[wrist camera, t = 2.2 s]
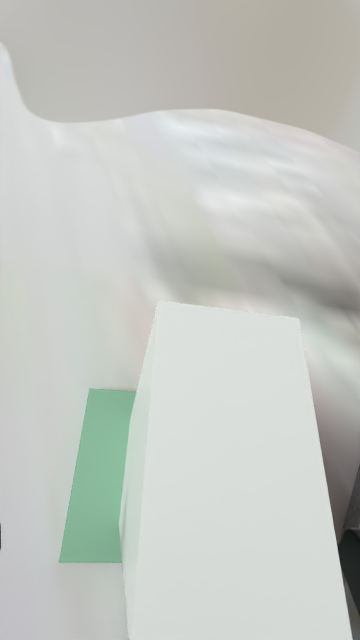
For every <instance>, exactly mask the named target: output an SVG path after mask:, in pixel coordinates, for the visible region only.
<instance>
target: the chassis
mask: <svg viewBox="0 0 360 640" xmlns="http://www.w3.org/2000/svg"><path fill="white" fill-rule="evenodd" d="M347 528H360V466H359V470H358V474H357V478H356V481H355V485H354V489H353V493H352V497H351V501H350V504H349V508H348V512H347V516H346V520H345V524H344V527H343V531H342V535H341V538H342V536H343V533H344V531H345V530H346V529H347ZM340 541H341V539H340ZM340 567H341V565H340ZM341 573H342V579H343V585H344V591H345V597H346V603H347V609H348V615H349V621H350V627H351V633H352V639H353V640H360V617H359V614H358V612H357V609H356V606H355V604H354V601H353V598H352V595H351V593H350V590H349V587H348V584H347V582H346V579H345V576H344V573H343V571H342V568H341Z"/></svg>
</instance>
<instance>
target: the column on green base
mask: <svg viewBox="0 0 360 640" xmlns="http://www.w3.org/2000/svg"><path fill="white" fill-rule="evenodd" d="M59 563H122V566H123V577H124V589H125V600H126V611H127V623H128V634H129V640H353V639H352V633H351V627H350V621H349V615H348V609H347V603H346V597H345V591H344V585H343V579H342V573H341V567H340V561H339V555H338V549H337V543H336V537H335V531H334V525H333V518H332V512H331V506H330V500H329V494H328V488H327V482H326V476H325V470H324V464H323V458H322V452H321V446H320V440H319V434H318V428H317V422H316V416H315V410H314V404H313V398H312V392H311V386H310V380H309V374H308V368H307V362H306V356H305V350H304V343H303V337H302V331H301V325H300V319H299V318H294V317H286V316H278V315H270V314H262V313H254V312H247V311H239V310H231V309H223V308H215V307H207V306H199V305H191V304H183V303H175V302H168V301H160V300H158V303H157V308H156V312H155V316H154V320H153V325H152V329H151V333H150V337H149V341H148V346H147V350H146V354H145V358H144V362H143V367H142V371H141V375H140V379H139V384H138V388H137V392H128V391H115V390H103V389H91V388H89V393H88V399H87V405H86V410H85V416H84V422H83V427H82V433H81V439H80V445H79V450H78V456H77V462H76V467H75V473H74V479H73V485H72V490H71V496H70V502H69V507H68V513H67V519H66V524H65V530H64V536H63V542H62V547H61V553H60V559H59Z"/></svg>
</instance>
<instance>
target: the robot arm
mask: <svg viewBox="0 0 360 640" xmlns="http://www.w3.org/2000/svg"><path fill="white" fill-rule="evenodd" d="M0 549H1V525H0ZM337 549H338V555H339V561H340V565H341V568H342V571H343V573H344V576H345V579H346V582H347V584H348V587H349V590H350V593H351V595H352V598H353V601H354V604H355V606H356V609H357V612H358V614H359V617H360V528H347V529H346V530H345V531H344V533H343V536H342V538H341V541H340V543H339V545H338V548H337Z"/></svg>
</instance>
